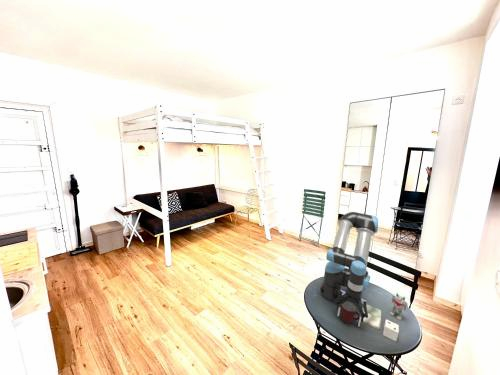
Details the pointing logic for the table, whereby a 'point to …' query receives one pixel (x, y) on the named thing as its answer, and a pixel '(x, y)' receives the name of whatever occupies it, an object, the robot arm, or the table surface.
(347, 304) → the mug
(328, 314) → the table surface
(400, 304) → the figurine
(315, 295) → the table surface
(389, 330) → the die
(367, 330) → the table surface
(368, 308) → the board
